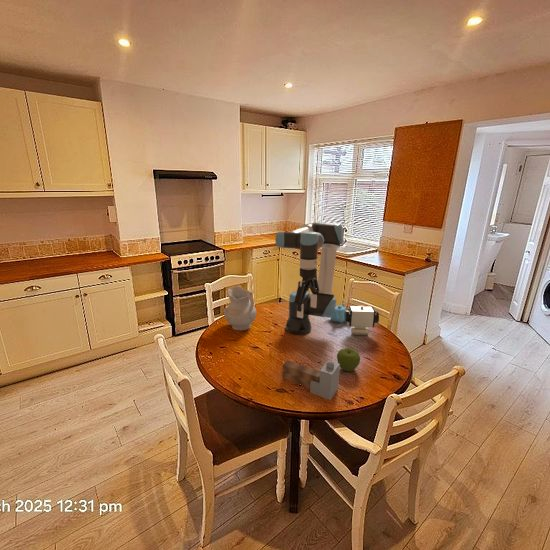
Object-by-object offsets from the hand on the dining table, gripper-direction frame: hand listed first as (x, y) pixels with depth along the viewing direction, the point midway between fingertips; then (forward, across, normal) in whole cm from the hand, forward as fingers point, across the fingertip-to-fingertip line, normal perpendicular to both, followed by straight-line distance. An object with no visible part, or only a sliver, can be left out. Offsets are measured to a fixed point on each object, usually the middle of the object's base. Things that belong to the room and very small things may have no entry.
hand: (306, 312), depth 137 cm
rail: (+27, -14, -6) cm, 31 cm away
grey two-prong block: (+27, -14, -16) cm, 34 cm away
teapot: (+27, +54, +4) cm, 61 cm away
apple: (+27, +6, -19) cm, 33 cm away
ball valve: (+27, +43, -13) cm, 52 cm away
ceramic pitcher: (+27, +14, +50) cm, 58 cm away
